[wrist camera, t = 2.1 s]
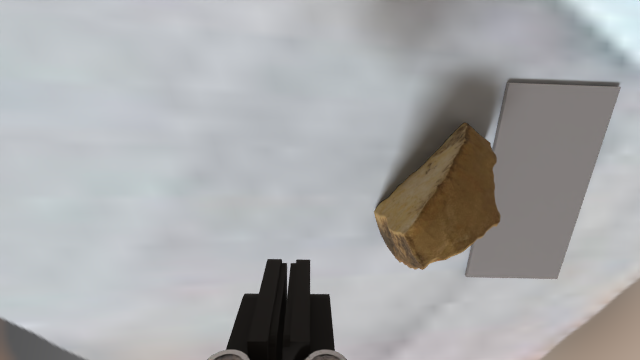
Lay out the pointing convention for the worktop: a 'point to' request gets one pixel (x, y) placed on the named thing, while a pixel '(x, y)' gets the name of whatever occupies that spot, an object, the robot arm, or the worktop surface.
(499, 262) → the rubber mat
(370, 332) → the worktop surface
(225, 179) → the worktop surface
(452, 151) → the rock
